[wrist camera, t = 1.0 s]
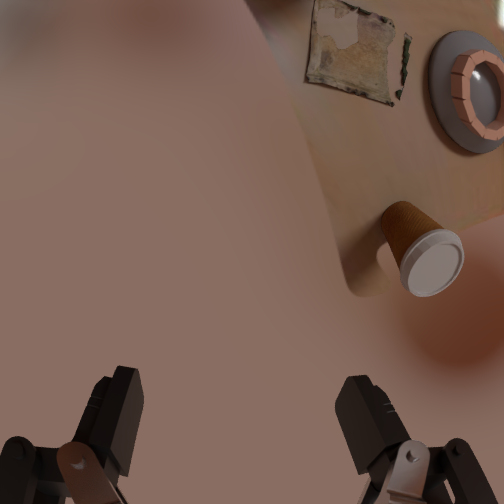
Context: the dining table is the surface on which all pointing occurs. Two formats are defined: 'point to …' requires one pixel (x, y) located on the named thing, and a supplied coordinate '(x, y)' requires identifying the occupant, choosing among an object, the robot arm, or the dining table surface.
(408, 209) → the disposable coffee cup
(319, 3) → the parchment
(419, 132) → the dining table surface
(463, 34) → the round tray
